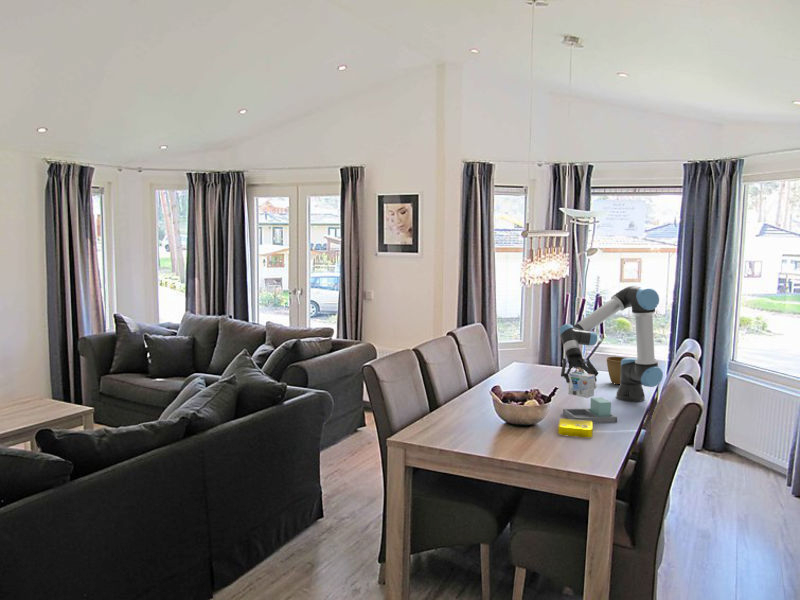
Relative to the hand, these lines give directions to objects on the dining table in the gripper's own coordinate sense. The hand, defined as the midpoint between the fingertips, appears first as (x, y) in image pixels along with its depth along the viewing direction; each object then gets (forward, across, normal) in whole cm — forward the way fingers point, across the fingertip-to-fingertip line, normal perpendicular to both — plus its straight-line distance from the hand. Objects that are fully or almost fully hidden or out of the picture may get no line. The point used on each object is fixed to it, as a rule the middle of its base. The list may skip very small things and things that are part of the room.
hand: (583, 387), depth 298 cm
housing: (+10, -5, -14) cm, 18 cm away
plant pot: (-43, -55, -67) cm, 97 cm away
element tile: (+24, +10, 0) cm, 26 cm away
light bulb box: (+1, 0, -5) cm, 5 cm away
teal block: (+9, -10, -13) cm, 19 cm away
